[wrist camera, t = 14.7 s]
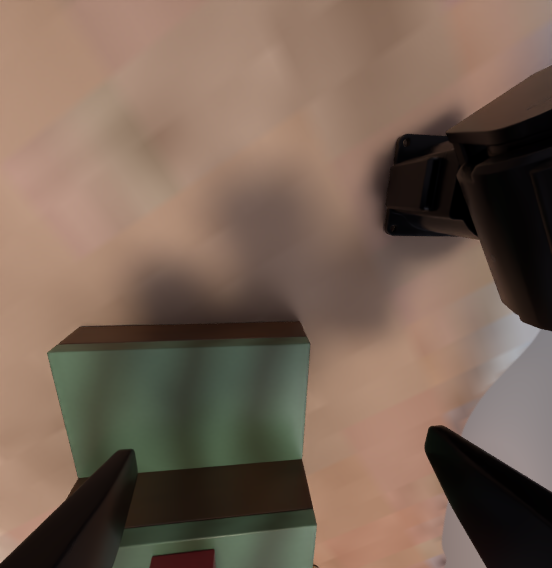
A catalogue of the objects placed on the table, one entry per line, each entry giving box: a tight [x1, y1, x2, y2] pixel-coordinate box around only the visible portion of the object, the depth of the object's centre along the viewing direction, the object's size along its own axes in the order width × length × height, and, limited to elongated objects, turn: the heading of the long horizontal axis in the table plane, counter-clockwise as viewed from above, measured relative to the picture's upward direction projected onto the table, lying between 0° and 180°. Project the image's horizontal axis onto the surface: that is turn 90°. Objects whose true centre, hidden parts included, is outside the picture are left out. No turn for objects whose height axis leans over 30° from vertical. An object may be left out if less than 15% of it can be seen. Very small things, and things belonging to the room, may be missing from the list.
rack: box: [47, 321, 317, 568], centre depth 20 cm, size 16×20×8 cm
